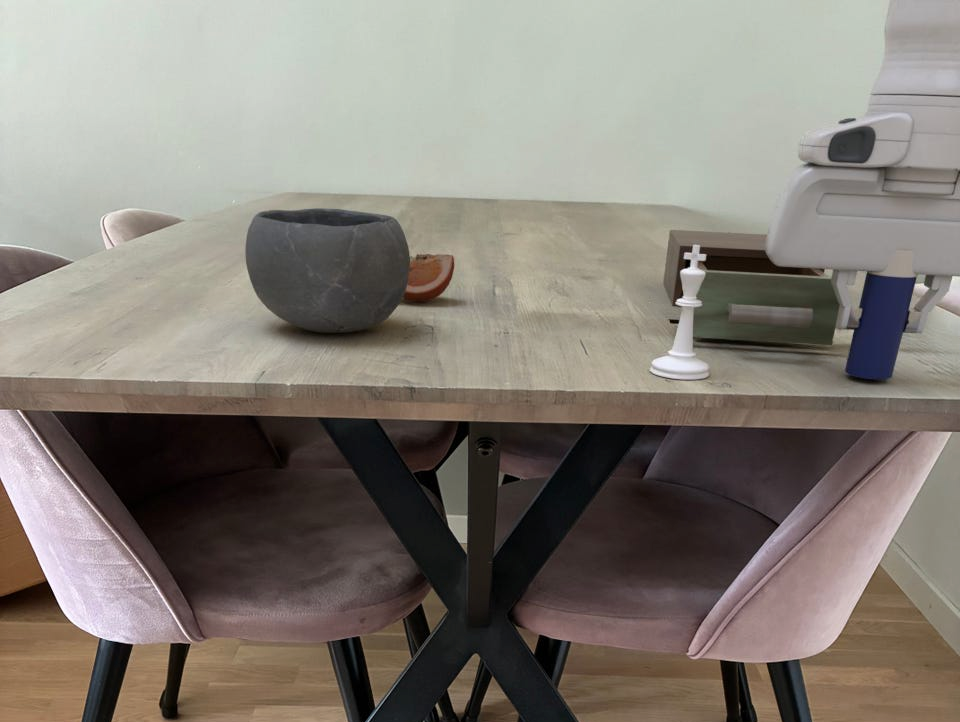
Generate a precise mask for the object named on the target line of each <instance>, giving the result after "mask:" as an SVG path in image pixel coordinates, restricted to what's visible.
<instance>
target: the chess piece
mask: <svg viewBox="0 0 960 722" xmlns="http://www.w3.org/2000/svg"><path fill="white" fill-rule="evenodd" d="M699 250H700V245H693V250H692V253H684V259H690V260H691V264H690V267H688V268H687V269H683V270H681V271H680V276H681V281H682V297H681V299H677V302H676V303H675V304H676V305H679V306H680V307H681V312H680V318H679V320H680V321H679V324H677V329H676V333H675V337H674V341H673V344H672V347H671V349H670V350H668V351H667V353H668V354H669V355H664V356H660V357H658V358H655V359H653V360H652V361H651V367H650V368H649V372H650V373H651V374H653V375H656V376H658V377H660V378H667V379H671V380H682V381H690V380H691V381H695V380H702V379H706V378H708V377H709V376H710V372H709V370H710V366H709V364H708V363H707V362H705V361H703V360H701V359H699V358H696V357H694V356H697V353H696V352H695V351H694V347H693V346H694V345H693V342H694V341H693V340H694V339H693V338H694V337H693V314H694V307H700V306H702V304H701V303H702V302H701V301H700V300H696V298H697V297H696V295H697V293H698V291H699V288H700V286H701V283H702V281H703V280H704V277H705V275H706V273H705V272H704V271H703V270H700V269H699V268H697V265H698V260H700V261H706V254H699ZM683 295H684V296H683Z"/></svg>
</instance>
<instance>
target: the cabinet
mask: <svg viewBox="0 0 960 722" xmlns="http://www.w3.org/2000/svg"><path fill="white" fill-rule="evenodd" d="M766 238H767V234H762V233H761V234H759V233H744V232H743V233H740V232H723V231H721V232H720V231H703V230H684V229H670V230H669V233H668V242H667V251H666V258H665V267H664V273H663V282H662V283H663V284H662V285H663V286H664V287H663V288H664V289H665V292H666V294H667V297H668V299H669V302H670V305H671V307H677V308H680V307H681V306H679V305H676V304H675V303H676V302H677V299H682V296H683V289H682V281H681V276H680V271H681V270H683V269H687V265H688V259H684V253H692V250H693V245H700V250H699V254H706V255H707V256H725V257H744V258H763V259H769V257H768V256H767V254H766V251H765V244H766ZM819 270H821V271H822V272H824V273H825V270H826V269H819ZM679 321H680V319H675V318H674V319H673V318H668V322H669V324H671V325H679Z"/></svg>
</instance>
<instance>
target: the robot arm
mask: <svg viewBox="0 0 960 722" xmlns="http://www.w3.org/2000/svg"><path fill="white" fill-rule="evenodd" d="M883 28H884V31H883V34H884V52H883V59H882V64H881V66H880V70H879V72H878V74H877V77H876V79H875V80H874V82H873V84H872V87H871V90H870V95H869V99H868V104H867V108H866V111H865V112H864V115H861V116H857V117H848V118H844V119H841V120H839V121H838V122H836V123H833V124H829V125H826V126H822V127H818V128H814V129H812V130H808V131H805V132H804V133H802V135H801V136H800V137H799V141H798V145H797V157H798V159H799V160H800V161H801V162H804V163H802V164H800V165H799V164H798V165H797V166H796V167H794V168H793V169H792V170H791V171H790V172H789V173H788V174H787V176H785V178H784V180H783V182H782V184H781V185H780V189H779V191H778V194H777V197H776V200H775V203H774V206H773V210H772V213H771V217H770V221H769V224H768V229H767V234H766V235H767V238H766V244H765V251H766V254H767V256H768V257H769V259H770V260H771V261H772V262H773V263H774V264H775V265H777V266H781V267H799V268H816V269H825V270H832V274H831V277H832V278H831V283H832V286H833V289H834V291H835V294H836V297H837V300H838V303H839V304H840V307H839V311H838V316H837V321H836V327H835V328H837V329H839V330H851V331H852V330H853V331H854V330H857V329H858V327H859V324H860V322H859V319H860V317H861V315H862V311H863V308H861V307H859V305H860V304H859V305H858V304H853V302H852V300H851V296H850V293H849V290H848V287H847V286H854V285H855V281H856V277H857V273H858V272H867V271H869V272H882V271H884V270H886V268H887V267H888V265H889V264H890V261H891V256H892V251H893V250H911V251H915V255H914V259H913V262H912V271H913V273H914V274H918V275H924V276H925V277H924V281H923V282H924V283H923V286H924V287H926V288H928V289H927V291H926V292H925V293H924V294H923V295H922V296H921V298H920V299H919V300H918V301H917V302H916V304H915V305H914V307H909V310H908V315H907V319H906V323H905V327H904V331H903V334H917V335H921V334H922V333H923V331H924V330H925V326H926V322H927V318H928V314H929V313H930V312H931V311H933V309H934V308H935V307H936V306H937V305H938V304H939V302H940V301H942V299H943V298H944V297H945V296H946V295H947V294H948V293H949V291H950V288H951V283H952V279H953V277H960V0H889V1H888V7H887V12H886V15H885V22H884V27H883Z"/></svg>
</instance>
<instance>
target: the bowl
mask: <svg viewBox="0 0 960 722" xmlns="http://www.w3.org/2000/svg"><path fill="white" fill-rule="evenodd" d="M244 249H245V251H244V252H245V264H246V270H247V273H248V278H249V280H250V284H251V285H252V289H253V291H254V292H255V294H256V297H257V298H258V299H259V301H260V302H261V303H262V304H263V305H264V307H266V309H267V310H268V311H270V312H272V314H274V315H275V316H277V317H278V318H279V319H281V320H282V321H285V322H287V323H289V324H290V325H293V326H295V327H297V328H299V329H303V330H305V331H306V330H307V331H311V332H316V333H324V334H341V333H342V334H343V333H353V332H359V331H363V330H367V329H369V328H372V327H373V328H374V327H376V326H377V325H380V324H382V323H383V322H385V321H386V320H387V319H388V318H389V317H390V316H391V315H392V314H393V312H394V311H395V310H396V309H397V307H398V306H399V305H400V303H402V301H403V299H404V298H403V296H404V294H405V291H406V288H407V284H408V278H409V272H410V257H411V255H410V249H409V244H408V241H407V237H406V235H405V233H404V229H403V228H402V226H401V224H400V222H399V221H398V219H396V218H395V217H394V216H390V215H386V214H380V213H372V212H364V211H356V210H348V209H342V208H341V209H340V208H322V207H321V208H317V207H316V208H302V209H294V210H290V209H289V210H288V209H287V210H286V209H270V210H264V211H260V212H257V214H255V215H254V216H253V218H252V220H251V222H250V224H249V226H248V229H247V234H246V240H245V248H244Z"/></svg>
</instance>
